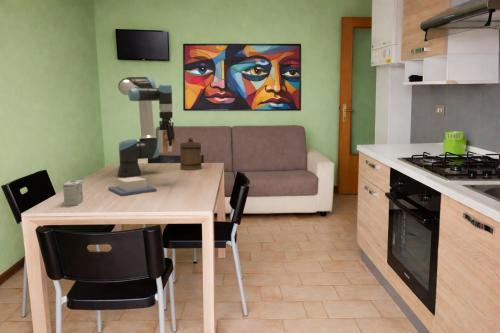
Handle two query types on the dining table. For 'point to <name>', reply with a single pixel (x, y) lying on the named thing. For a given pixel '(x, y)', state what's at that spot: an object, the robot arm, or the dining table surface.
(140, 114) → the robot arm
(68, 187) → the light bulb box
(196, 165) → the wooden container
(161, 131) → the small box
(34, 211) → the dining table surface
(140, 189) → the build board
